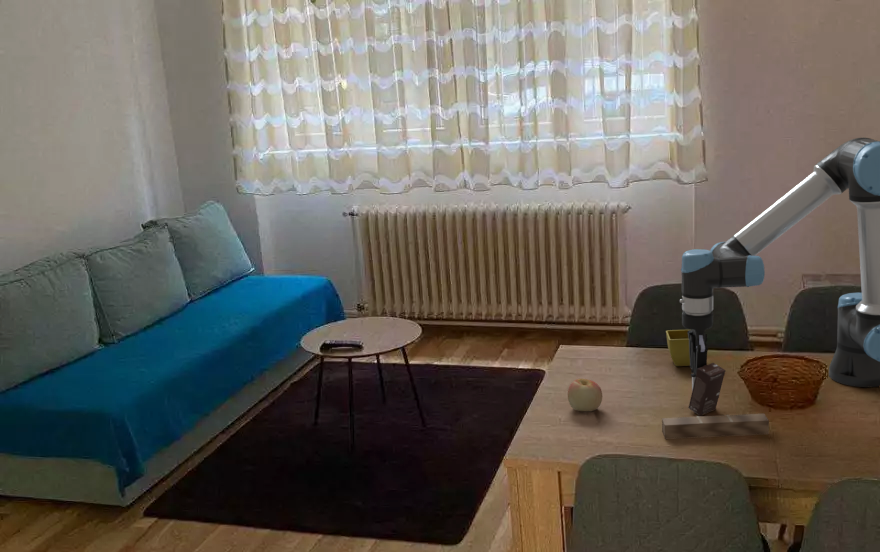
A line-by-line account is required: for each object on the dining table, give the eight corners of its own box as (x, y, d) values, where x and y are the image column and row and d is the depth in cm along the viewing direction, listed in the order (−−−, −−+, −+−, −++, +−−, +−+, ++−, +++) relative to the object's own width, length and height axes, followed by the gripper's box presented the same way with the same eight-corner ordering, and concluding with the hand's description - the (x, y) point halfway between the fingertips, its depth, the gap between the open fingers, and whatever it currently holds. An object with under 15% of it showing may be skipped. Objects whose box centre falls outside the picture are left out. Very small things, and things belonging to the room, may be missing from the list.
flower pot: (666, 358, 256) (665, 329, 254) (696, 357, 255) (696, 328, 253) (669, 369, 248) (669, 339, 246) (701, 368, 247) (700, 338, 244)
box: (701, 417, 216) (710, 375, 210) (687, 408, 219) (695, 367, 214) (717, 410, 219) (726, 369, 214) (703, 401, 222) (712, 361, 217)
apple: (571, 402, 231) (570, 374, 229) (605, 404, 228) (604, 376, 226) (565, 416, 223) (563, 387, 221) (599, 418, 220) (598, 388, 218)
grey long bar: (763, 426, 207) (763, 413, 206) (768, 434, 203) (768, 419, 202) (662, 431, 209) (661, 417, 208) (665, 438, 205) (664, 424, 205)
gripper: (677, 304, 224) (678, 389, 230) (687, 319, 211) (688, 409, 217) (707, 303, 223) (707, 388, 229) (718, 318, 210) (718, 408, 216)
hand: (698, 398), depth 223 cm, fingers closed
